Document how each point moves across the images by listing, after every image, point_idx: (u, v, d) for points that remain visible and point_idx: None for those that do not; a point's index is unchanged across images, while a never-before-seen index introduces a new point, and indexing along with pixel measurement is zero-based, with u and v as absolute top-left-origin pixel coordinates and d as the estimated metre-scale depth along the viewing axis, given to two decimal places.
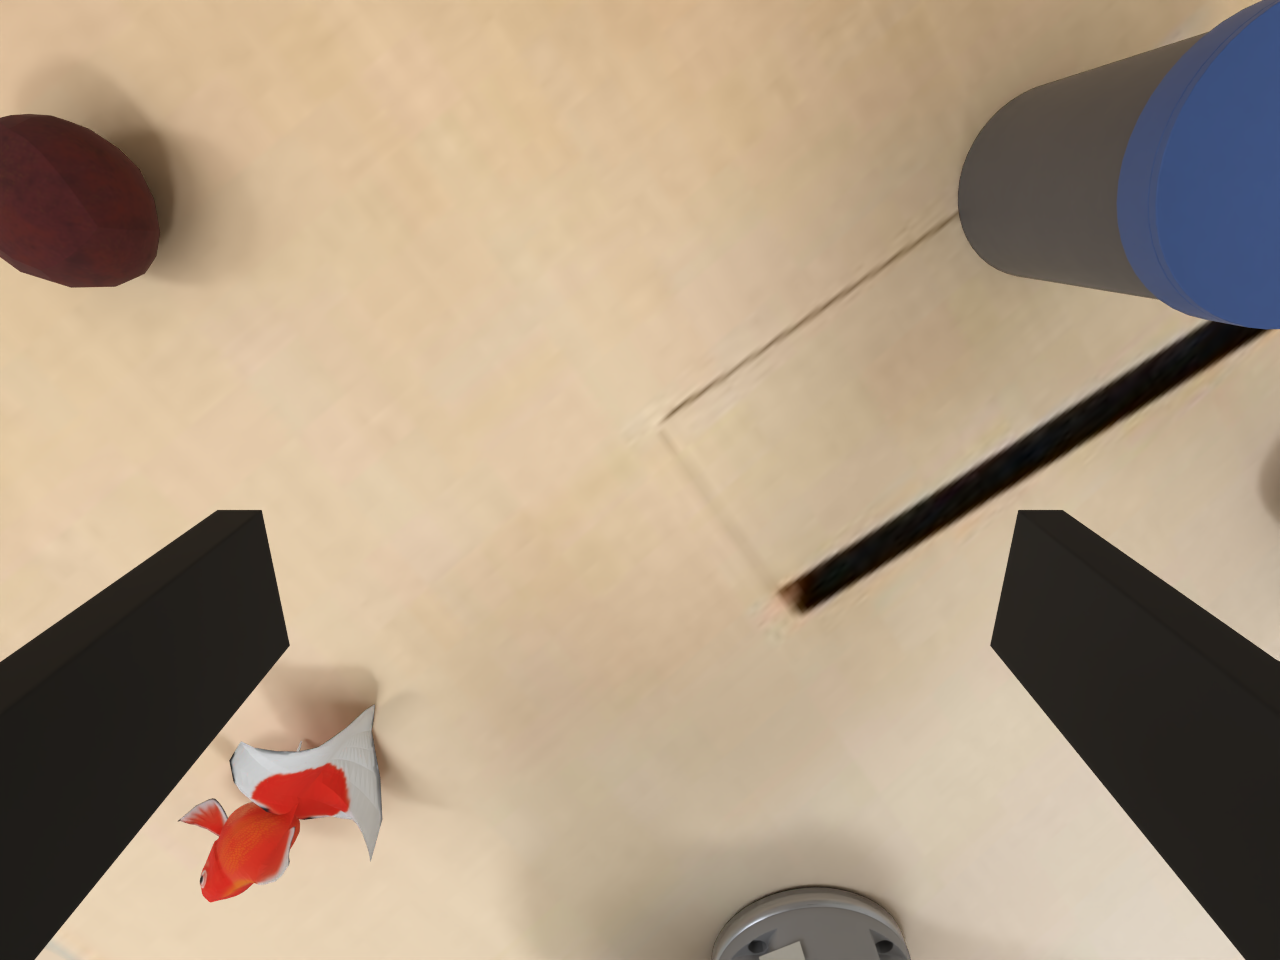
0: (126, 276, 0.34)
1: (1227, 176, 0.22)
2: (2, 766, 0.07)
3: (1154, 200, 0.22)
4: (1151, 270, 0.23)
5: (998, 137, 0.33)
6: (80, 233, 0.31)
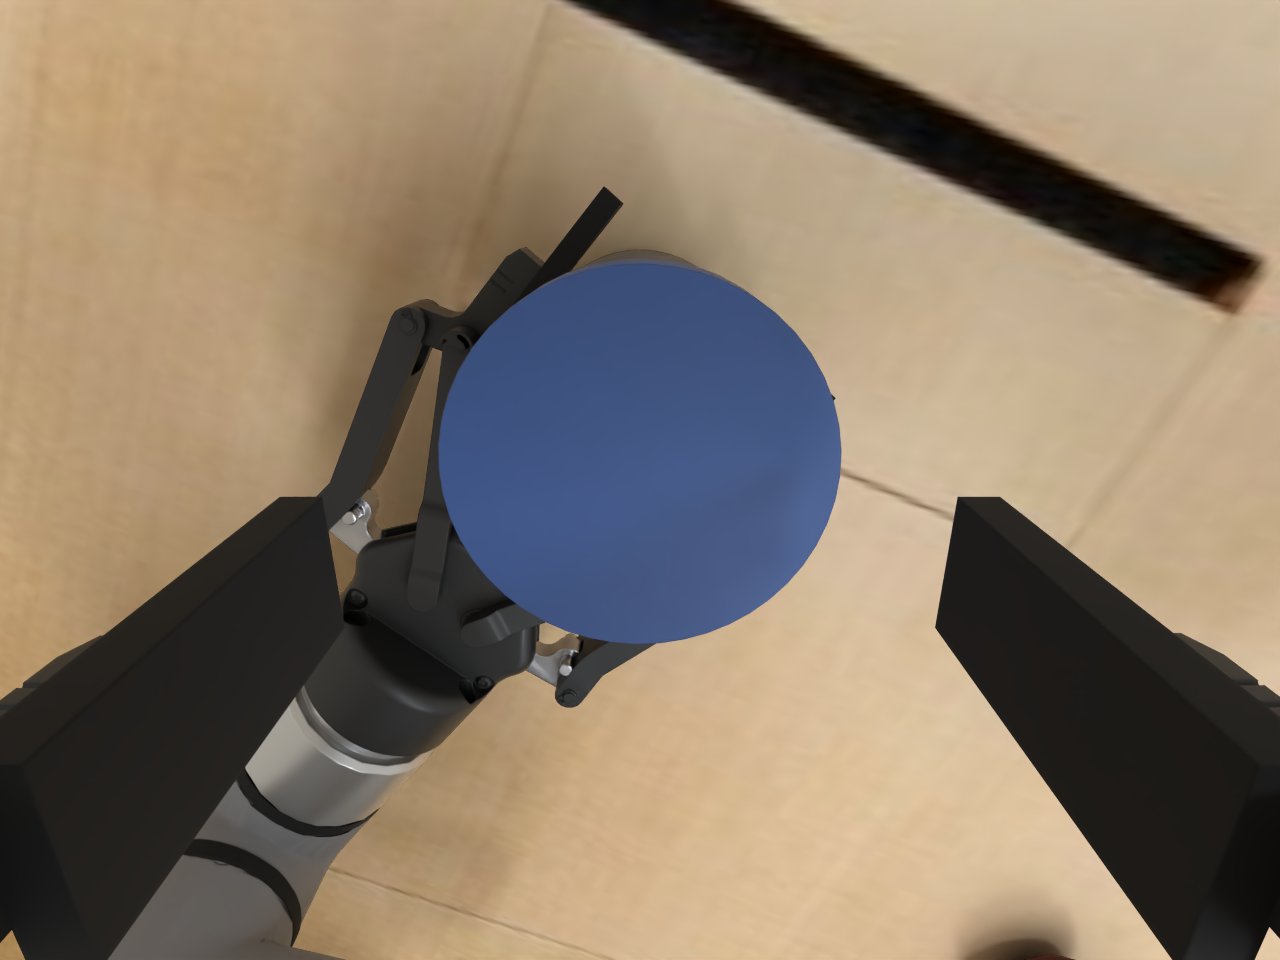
0: None
1: (708, 554, 0.18)
2: (119, 726, 0.08)
3: None
4: None
5: None
6: None
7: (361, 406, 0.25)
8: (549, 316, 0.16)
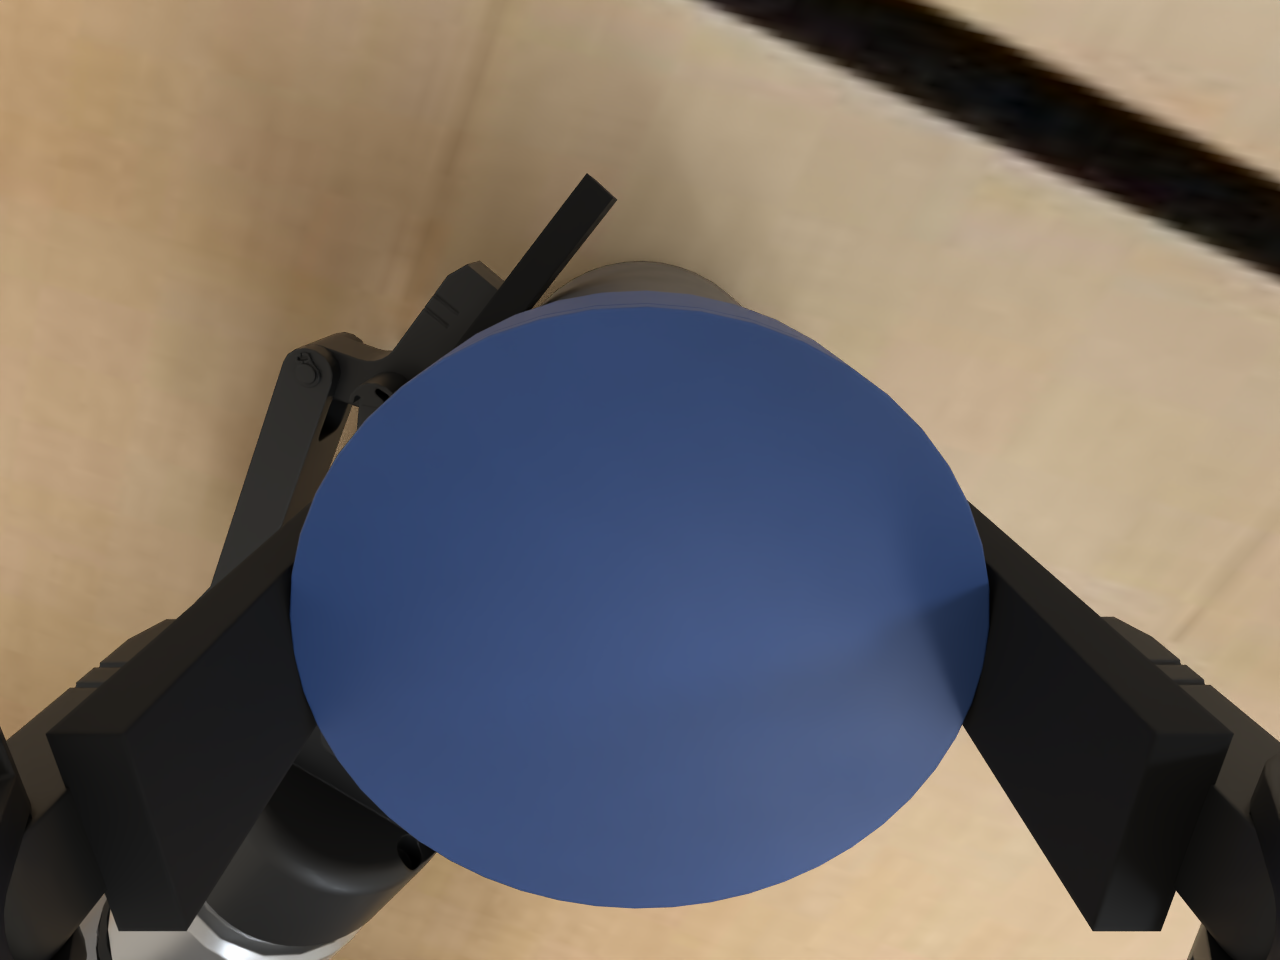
0: None
1: (755, 782, 0.11)
2: (201, 701, 0.08)
3: None
4: None
5: None
6: None
7: (247, 485, 0.18)
8: (474, 402, 0.09)
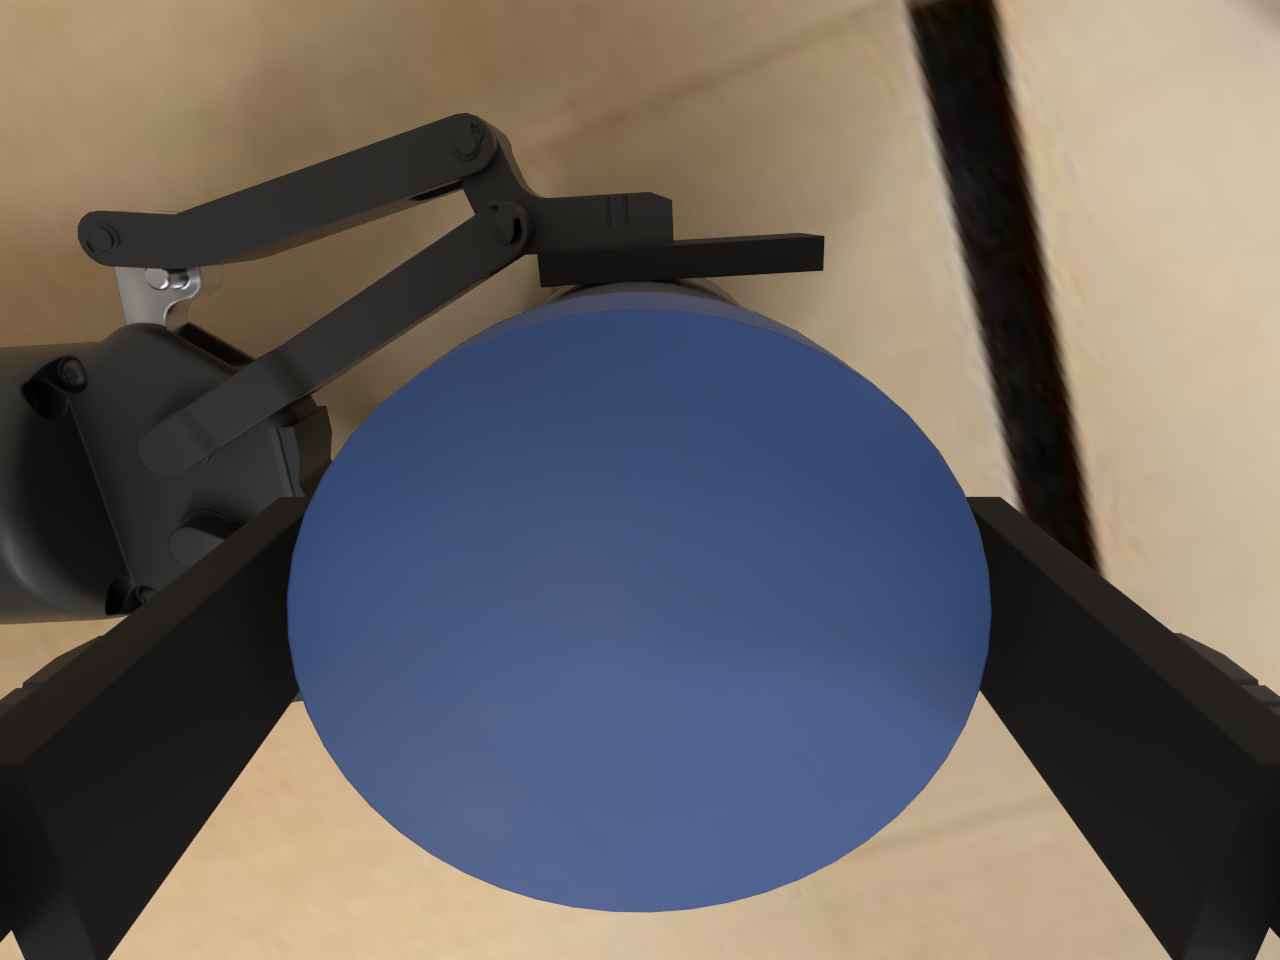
0: None
1: (838, 672, 0.10)
2: (119, 726, 0.08)
3: None
4: None
5: None
6: None
7: (310, 171, 0.16)
8: (332, 603, 0.10)
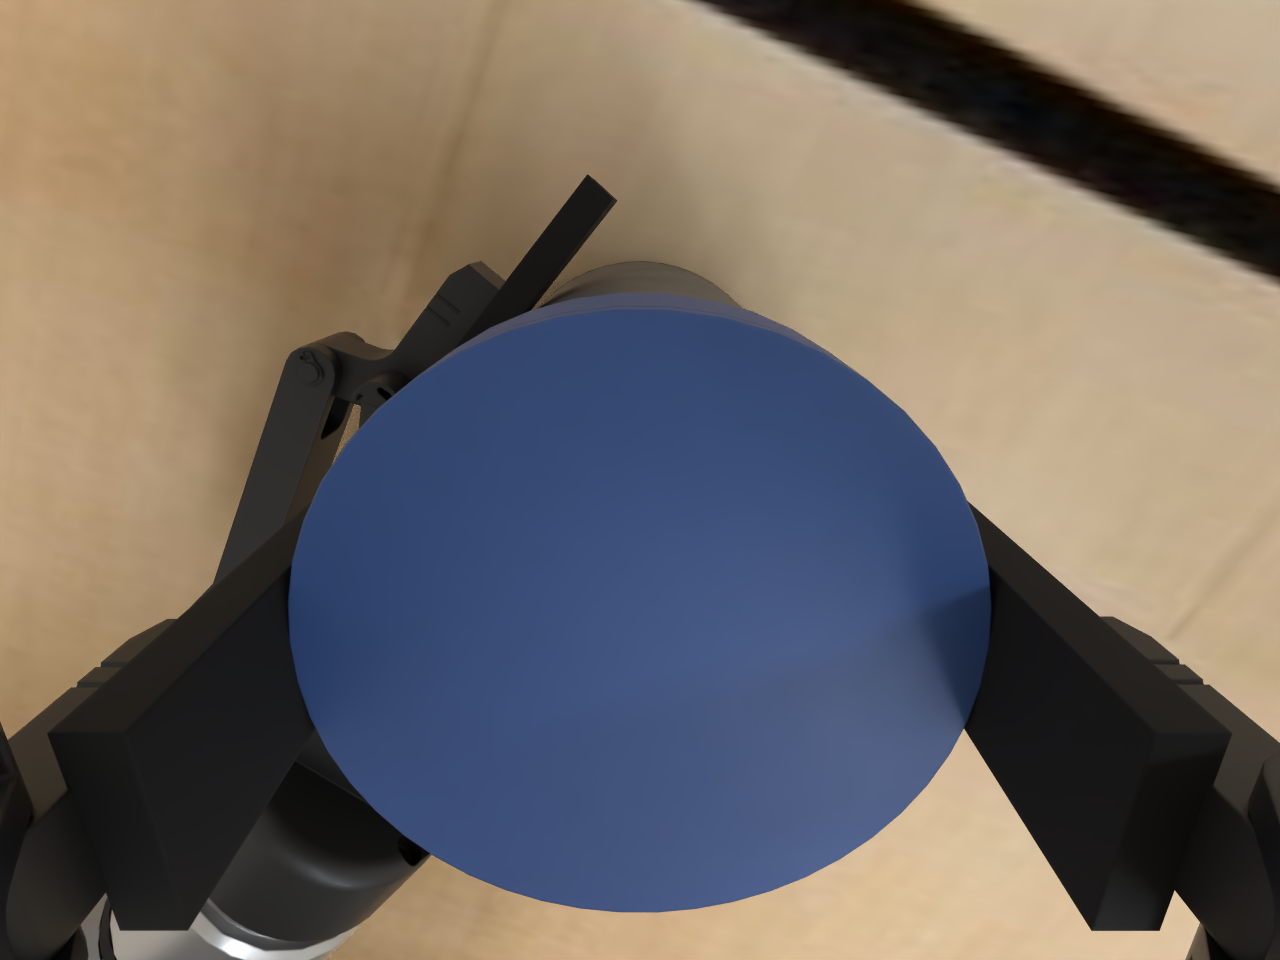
0: None
1: (797, 539, 0.09)
2: (202, 701, 0.08)
3: None
4: (734, 313, 0.09)
5: None
6: None
7: (250, 483, 0.18)
8: (404, 792, 0.11)
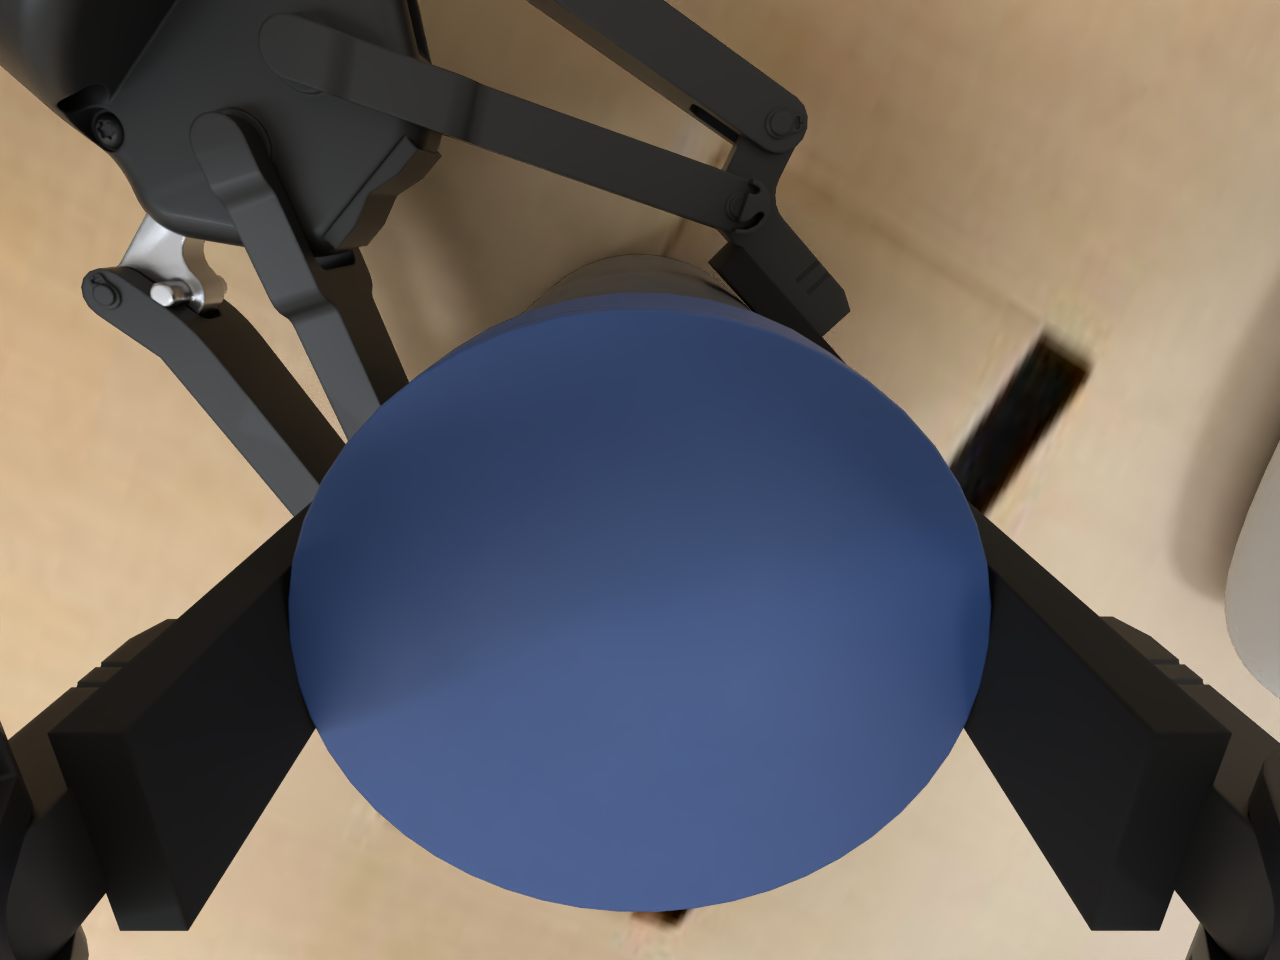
0: None
1: (797, 539, 0.09)
2: (202, 701, 0.08)
3: None
4: (734, 313, 0.09)
5: None
6: None
7: (658, 3, 0.15)
8: (404, 792, 0.11)
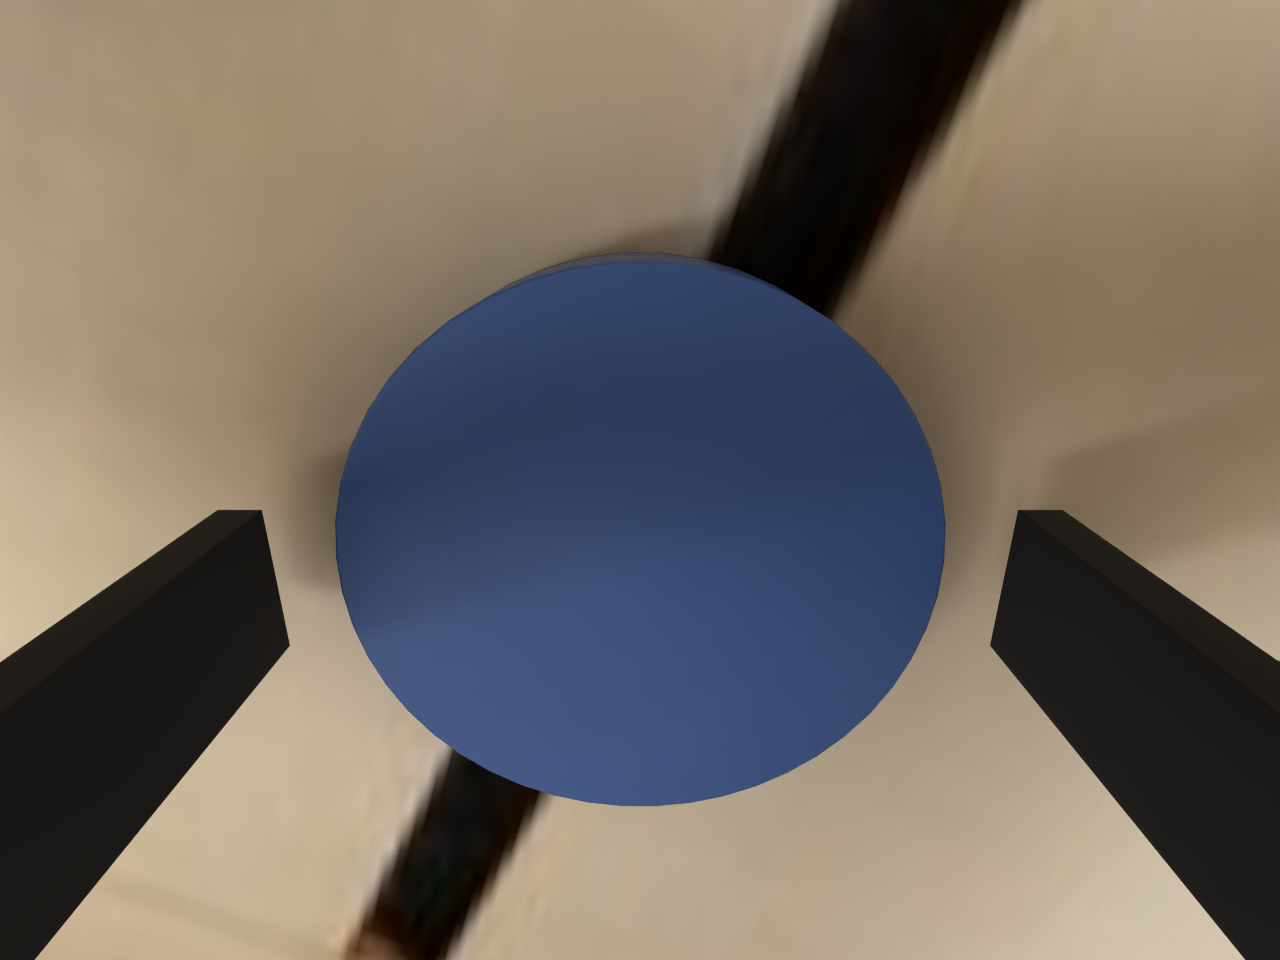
0: None
1: (776, 464, 0.11)
2: (2, 766, 0.07)
3: (864, 353, 0.10)
4: (722, 267, 0.11)
5: None
6: None
7: None
8: (433, 694, 0.13)
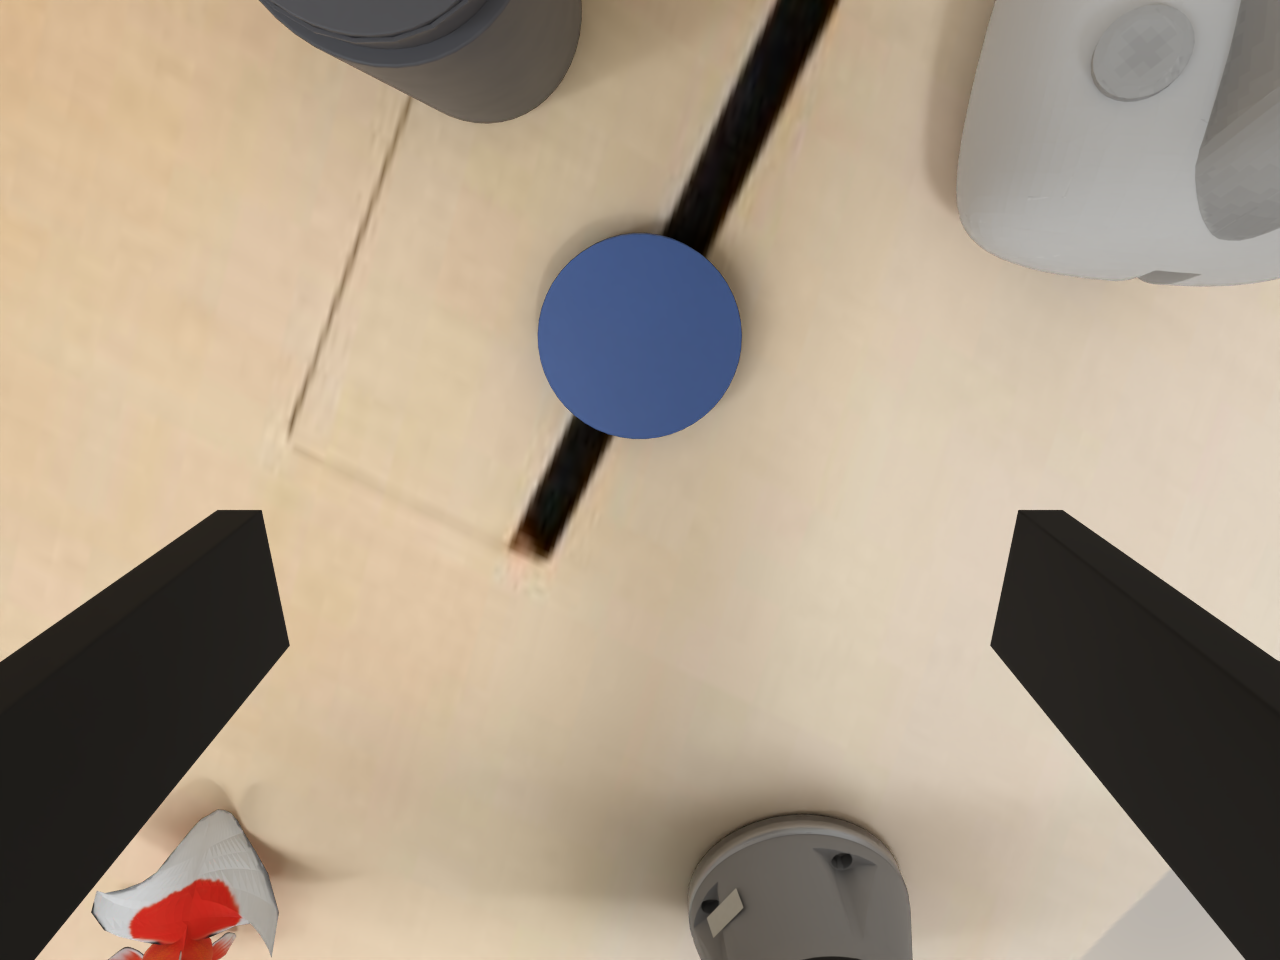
0: None
1: (683, 300, 0.34)
2: (2, 766, 0.07)
3: (709, 263, 0.33)
4: (665, 236, 0.34)
5: None
6: None
7: None
8: (566, 389, 0.35)
